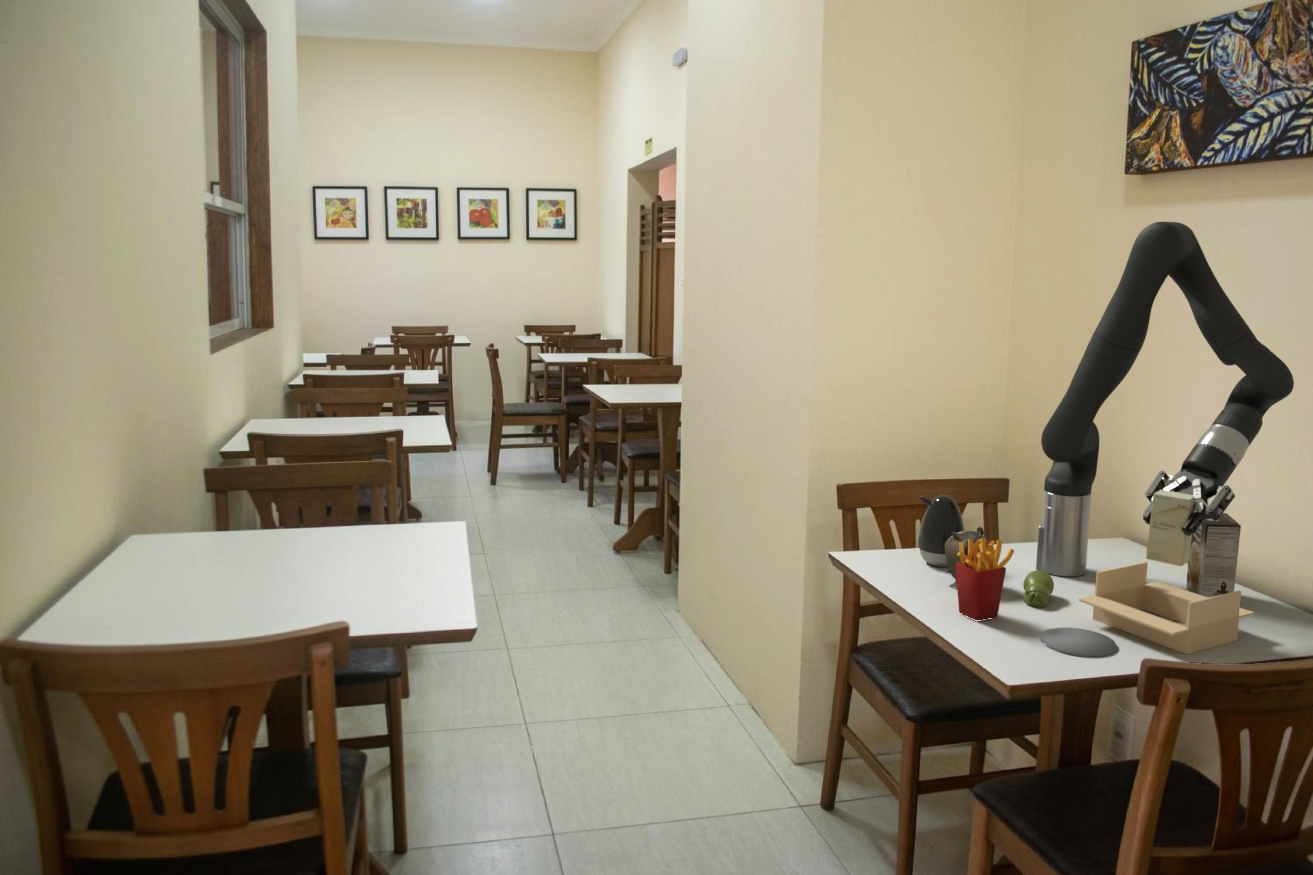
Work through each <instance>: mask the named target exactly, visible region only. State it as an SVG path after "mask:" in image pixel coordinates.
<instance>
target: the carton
mask: <svg viewBox="0 0 1313 875" xmlns="http://www.w3.org/2000/svg"><path fill="white" fill-rule="evenodd" d="M1148 565H1149V564H1148V561H1144V562H1138V563H1133V564H1130V565H1129V564H1128V565H1124V566H1120V567H1115V568H1109V569H1105V570H1099V571H1096V576H1095V587H1094V589H1095V590H1094V595H1091V596H1086V597H1080V598H1078V602H1080V603H1083V604H1087V605H1089V606H1091V607H1093V609H1092V610H1093V611H1092V619H1093V620H1095V621H1098V622H1100V623H1103V624H1106V625H1109V626H1112V627H1114V628H1116V629H1119V630H1121V631H1124V632H1127V633H1130V634H1131V635H1134V636H1137V637H1140V638H1142V639H1145V640H1148V641H1151V642H1153V643H1156V644H1158V645H1161V646H1163V647H1166V648H1169V649H1171V650H1173V651H1176V652H1179V653H1182V654H1184V655H1190V654H1194V653H1197V652H1199V651H1200V652H1201V651H1204V650H1208V649H1211V648H1215V647H1218V646H1223V645H1226V644H1227V645H1228V644H1229V643H1234V642H1237V641H1238V636H1239V635H1238V634H1239V626H1240V625H1239V622H1240V619H1242V618H1245V617H1250V616H1253V615H1255V611H1251V610H1248V609H1245V608H1241V600H1242V598H1241V597H1242V591H1241V590H1234V592H1230V593H1226V594H1222V595H1218V596H1214V597H1210V598H1208V597H1205V596H1202V595H1199V594H1196V593H1193V592H1189V591H1188V590H1187V589H1182V588H1179V587H1177V586H1173V585H1170V584H1167V583H1163V582H1161V581H1158V580H1157V581H1154V582H1153V581H1152V582H1149V583H1147V575H1148ZM1142 609H1143V610H1146V611H1149V612H1150V613H1148V612H1146V611H1142ZM1151 613H1154V614H1157V615H1159V616H1160V617H1159V616H1157V615H1154V614H1151ZM1161 616H1162V617H1165V618H1168V619H1171V620H1168V619H1165V618H1162V617H1161ZM1172 620H1174V621H1177V622H1179V623H1182V624H1185V625H1186V626H1185V625H1182V624H1179V623H1177V622H1173V621H1172ZM1233 641H1234V642H1233Z"/></svg>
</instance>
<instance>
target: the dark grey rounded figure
mask: <svg viewBox="0 0 1313 875" xmlns="http://www.w3.org/2000/svg"><path fill="white" fill-rule="evenodd" d="M919 501H921V502H922V503H923V504H925V505H926V506H928V507H927V509H926V511H925V513H924V515H923V517H922V521H921V524H920V527H919V533H918V539H917V547H918V550H919V552H920V556H921V557H922V559H923V560H924V561H925V562H926V563H928V564H930V565H932V566H935V567H942V568H943V567H944V568H946V567H947V568H948V565H947V562H946V555H945V543H946V541H947V540H948V539H949V538H950V537H951V536H952V532H951V531H953V532H957V533H959V532H962V531H966V529H965V528H966V527H965V523H964V520H963V516H962V513H961V510H960V508H959V506H958V504H957V502H956V501H955V500H954V498H952V497H951V496H949V495H945V494H944V495H937V496H936V497H934V498H933V499H929V498H927V497H926V496H923V495H921V496H920V498H919Z"/></svg>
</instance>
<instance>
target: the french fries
mask: <svg viewBox="0 0 1313 875" xmlns="http://www.w3.org/2000/svg"><path fill="white" fill-rule="evenodd" d="M986 539H987V538H986V537H985V538H981V539H978V540H977V541H976V543H975V545H974V547H973V539H968V555H967V556H966V555H965V554H964V546H963V542H958V543H959V551H960V552H958V554H957V556H959V557H960V559H961V562H958V563H956V576H957V589H956V591H957V600H958V613H959V612H960V613H962V614H963V615H966V616H968V617H970V618H973V619H975V620H983V619H988V618H995V619H997V618H998V615H999V610H1000V604H1001V599H1002V593H1003V588H1004V582H1005V576H1006V570H1007V568H1006V567H1005V565H1007V564H1008V563H1009V561H1010V560H1011V559H1012V557H1013V555H1014V553H1015V550H1014V549H1013V548H1009V550H1008V552H1007V554H1006V556H1005V557H1004V558H1003V559H1002V561H1001V562H999V560H1000V558H1001V553H1002V548H1003V546H1002V545H1003V540H1002V539H996V541H995V540H990V541H989V542H990V543H989V544H988V547H987V549H986ZM980 542H981V544H980ZM995 544H996V545H995ZM994 545H995V547H994ZM978 547H980V552H978ZM972 554H973V560H971V559H972ZM985 558H986V560H985ZM963 615H962V616H963ZM996 617H997V618H996Z"/></svg>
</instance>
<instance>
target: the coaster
mask: <svg viewBox="0 0 1313 875" xmlns="http://www.w3.org/2000/svg"><path fill="white" fill-rule="evenodd" d="M1041 640H1042V641H1041ZM1040 641H1041V643H1042V642H1043V643H1045V644H1046V645H1047V646H1049V647H1051V648H1053V649H1055V650H1057V651H1056V652H1058V651H1060V652H1059V653H1061V652H1062V654H1065V653H1066V654H1065V655H1069V656H1074V657H1084V658H1099V657H1105V656H1109V655H1112V654H1113V653H1114V652H1116V647H1117V645H1116V642H1115V640H1114V639H1112V638H1111V637H1109V636H1108V635H1105V634H1104V633H1103V634H1102V633H1100V632H1098V631H1094V630H1089V629H1085V628H1079V627H1053V628H1049V629H1046V630H1045V631H1043V632H1042V633H1041V634H1040ZM1043 643H1042V644H1043ZM1047 646H1046V647H1047ZM1049 647H1048V648H1049ZM1053 649H1052V650H1053ZM1055 650H1054V651H1055Z"/></svg>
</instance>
